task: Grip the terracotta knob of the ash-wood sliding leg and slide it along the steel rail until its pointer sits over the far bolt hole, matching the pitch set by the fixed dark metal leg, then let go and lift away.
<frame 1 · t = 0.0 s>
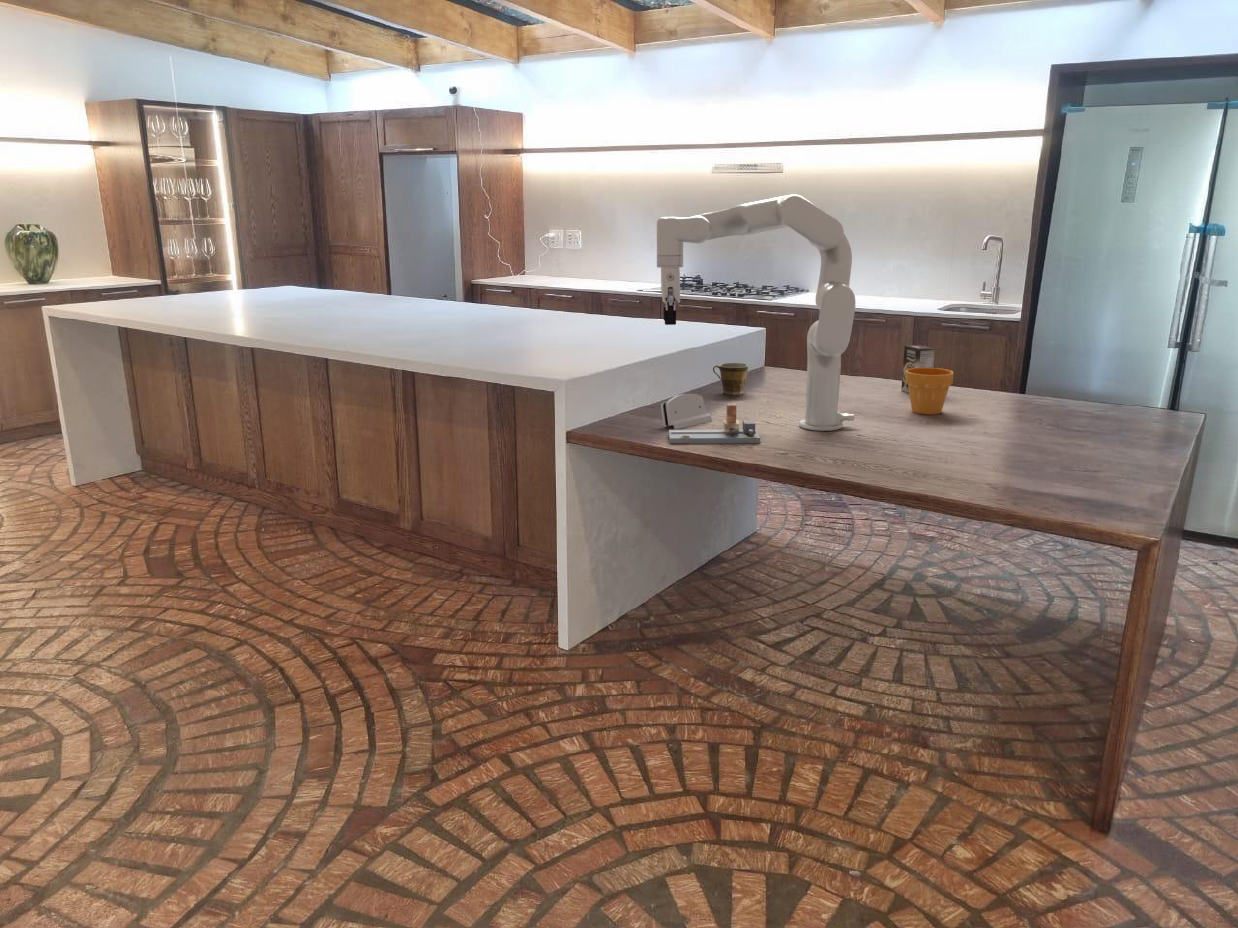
hand: (669, 322, 257), 31 cm above the table, tool pointing down, fingers open, 9 cm apart
coffee box: (915, 393, 312), on the table
gauge board: (713, 438, 252), on the table
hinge: (685, 424, 272), on the table
flower pot: (926, 412, 282), on the table
ceramic cup: (729, 393, 316), on the table
sliding leg: (731, 419, 250), point 6 cm above the table, slide at 0.0 cm
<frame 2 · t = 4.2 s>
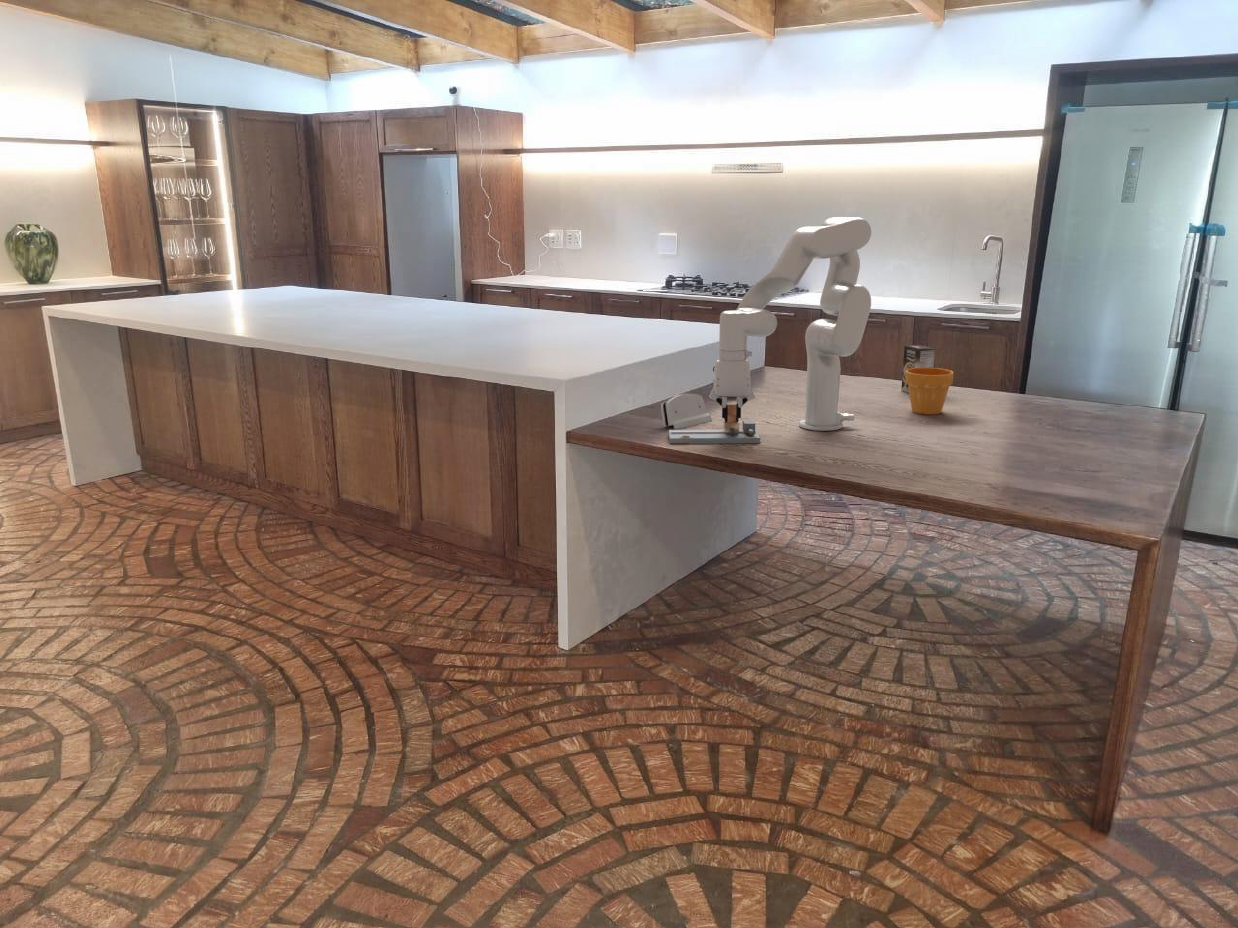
hand: (731, 420, 252), 5 cm above the table, tool pointing down, fingers closed on sliding leg, 2 cm apart
sliding leg: (731, 419, 250), point 6 cm above the table, slide at 0.0 cm, touching gripper
everything else where it was.
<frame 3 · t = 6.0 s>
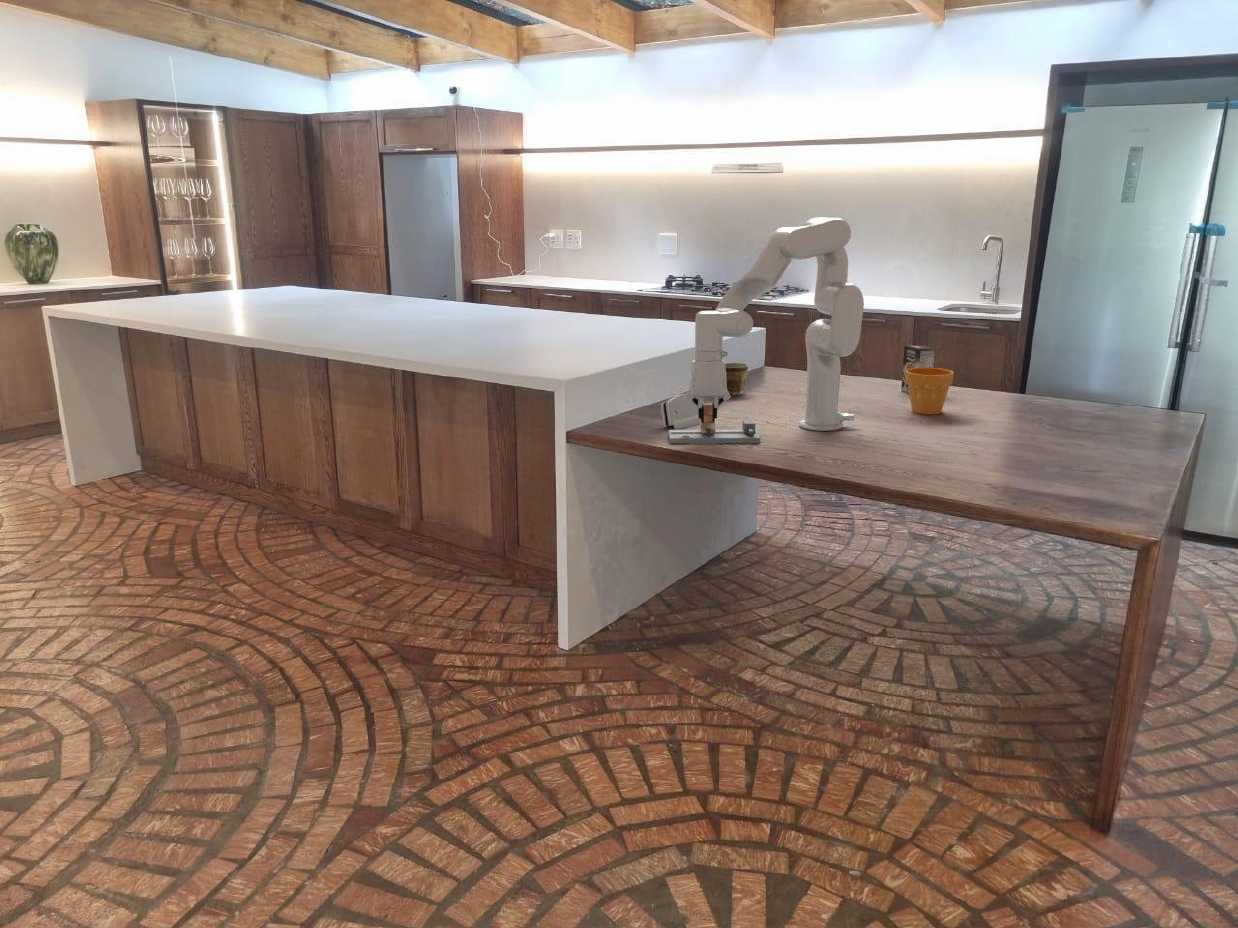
hand: (707, 420, 252), 5 cm above the table, tool pointing down, fingers closed on sliding leg, 2 cm apart
sliding leg: (708, 419, 250), point 6 cm above the table, slide at 6.7 cm, touching gripper
everything else where it was.
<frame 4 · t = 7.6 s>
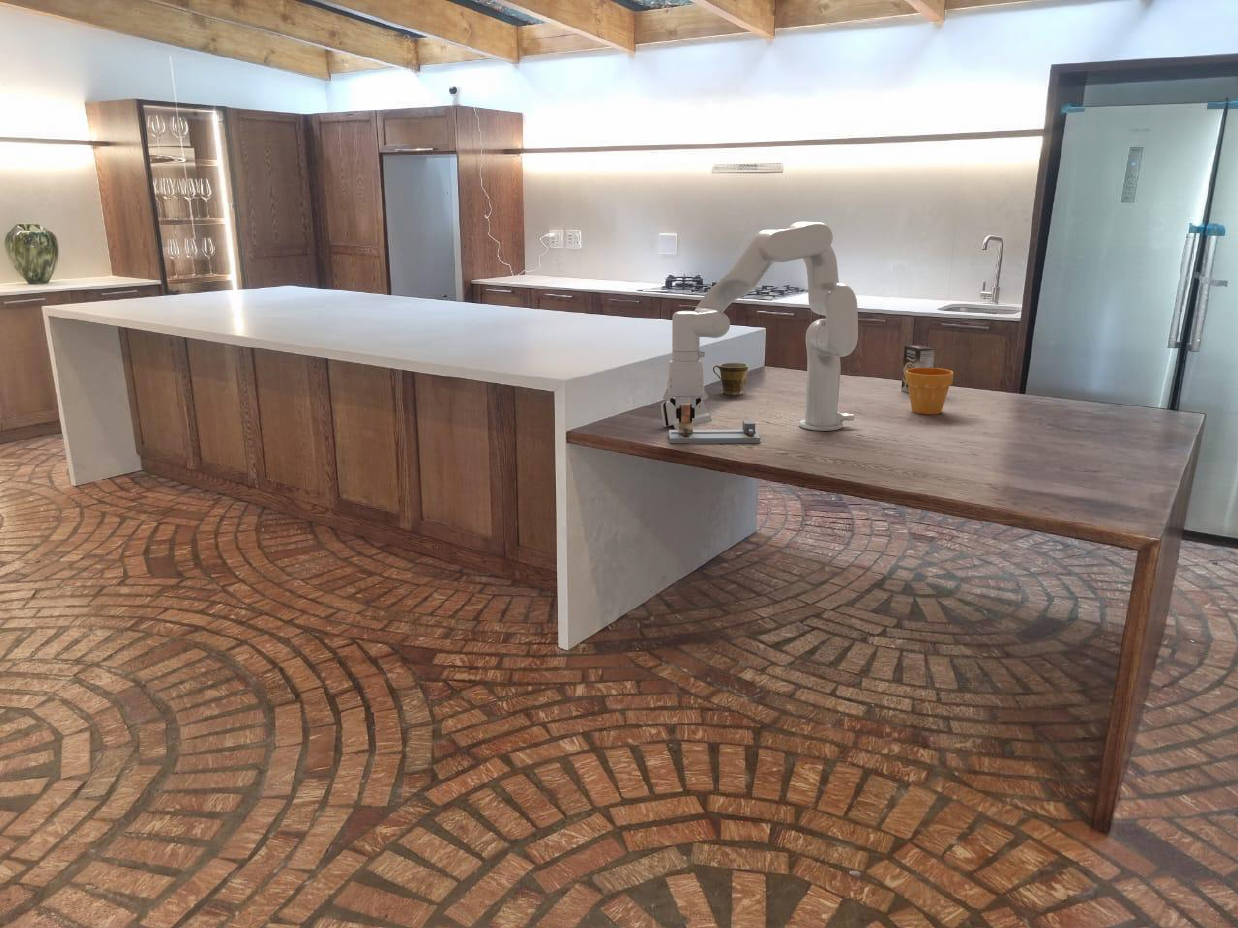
hand: (685, 420, 252), 5 cm above the table, tool pointing down, fingers closed on sliding leg, 2 cm apart
sliding leg: (685, 419, 250), point 6 cm above the table, slide at 13.0 cm, touching gripper
everything else where it was.
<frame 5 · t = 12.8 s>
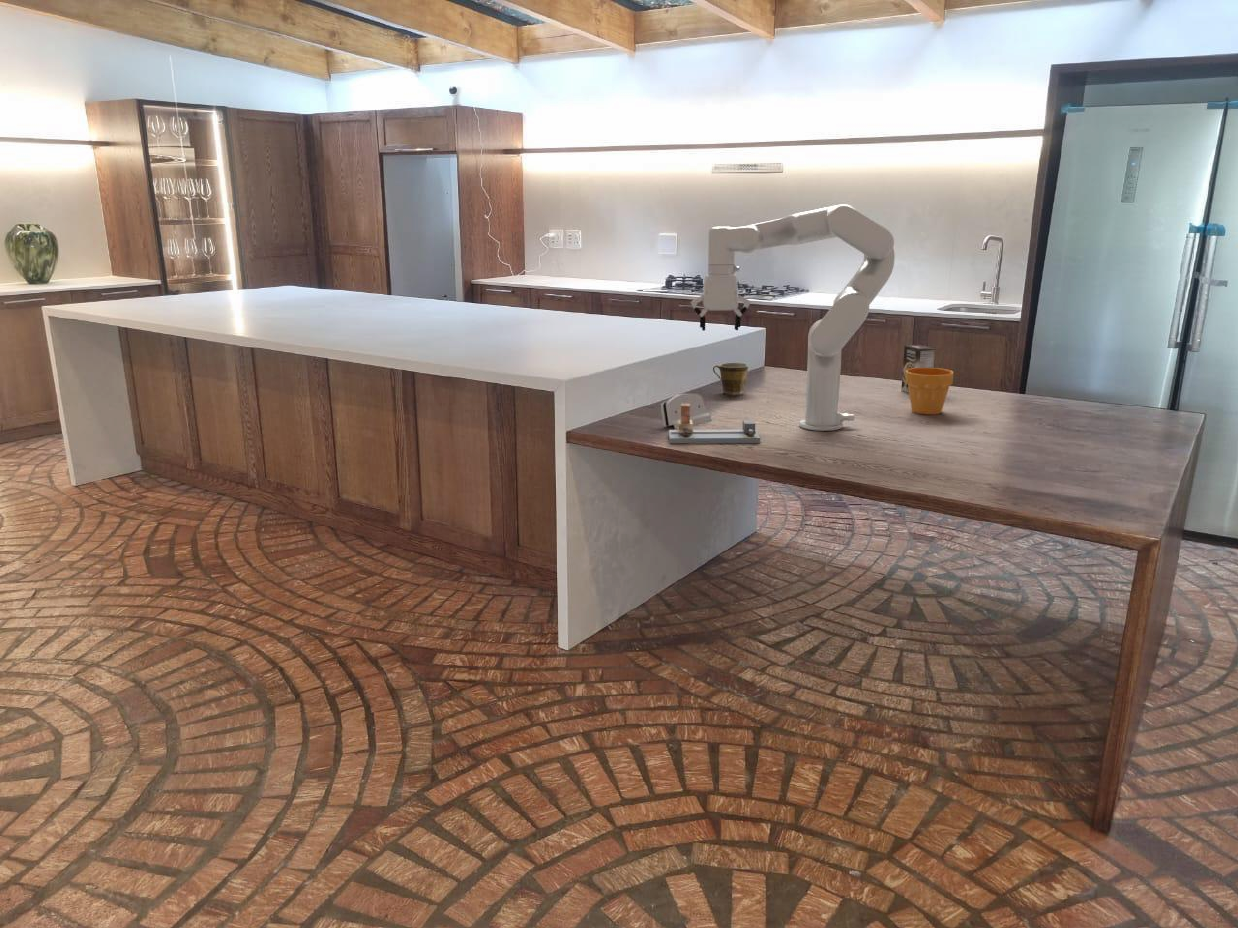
hand: (720, 329, 263), 28 cm above the table, tool pointing down, fingers open, 9 cm apart
sliding leg: (685, 419, 250), point 6 cm above the table, slide at 13.0 cm
everything else where it was.
at the end: sliding leg slide at 13.0 cm; the gripper is holding nothing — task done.
